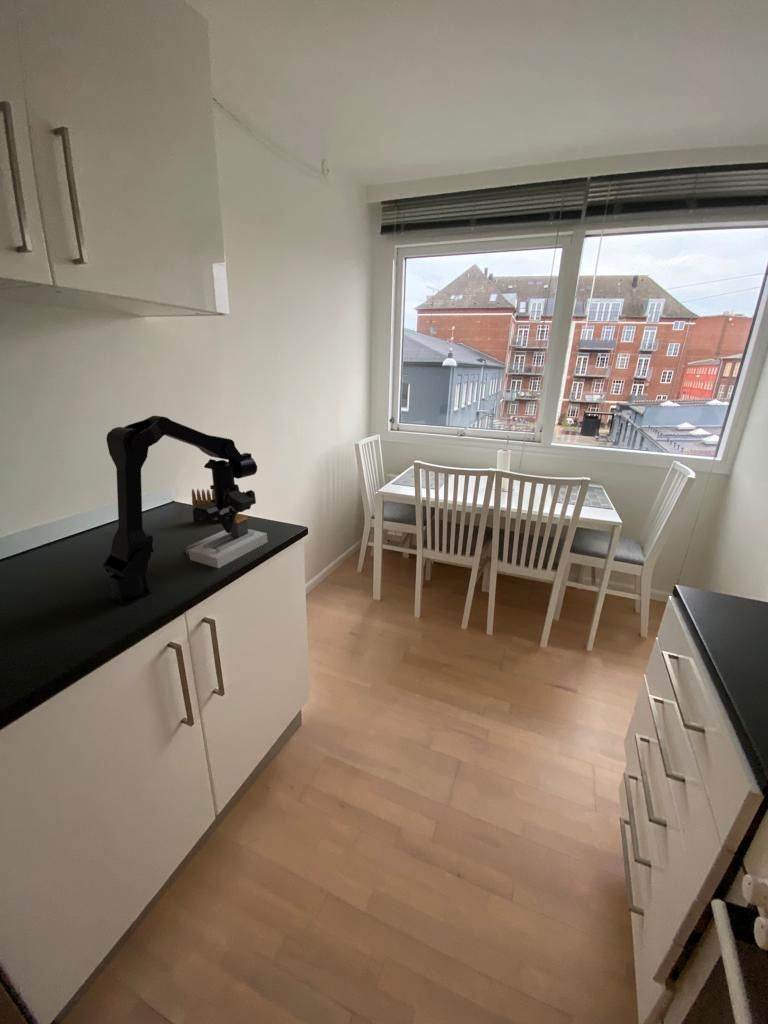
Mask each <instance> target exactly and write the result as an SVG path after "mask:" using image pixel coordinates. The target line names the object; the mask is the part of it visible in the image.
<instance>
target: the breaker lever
mask: <svg viewBox="0 0 768 1024" xmlns="http://www.w3.org/2000/svg"><path fill="white" fill-rule="evenodd" d="M248 518H249V517H248V515H245V514H241V513H238V514H236V516H235V518H234V521H233V525H232V529H231V537H235V538H240V537H242V536H244V535H246V534H248V529H249V528H248Z"/></svg>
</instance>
